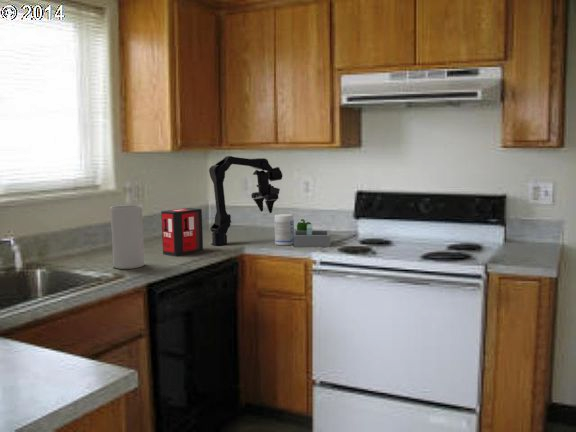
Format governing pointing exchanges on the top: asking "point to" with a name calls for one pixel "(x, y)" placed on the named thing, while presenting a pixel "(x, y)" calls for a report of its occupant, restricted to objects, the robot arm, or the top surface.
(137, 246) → the cylinder vase
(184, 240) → the cleaning product box
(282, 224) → the supplement tub
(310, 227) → the plate
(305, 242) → the grey tray
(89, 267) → the top surface
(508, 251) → the top surface
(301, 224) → the bell pepper
